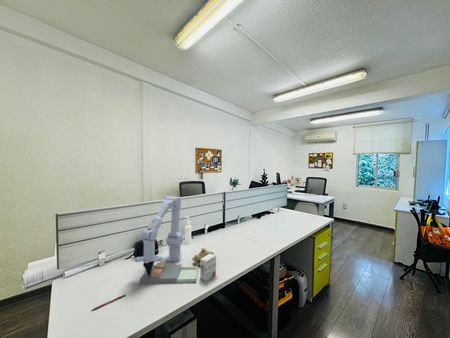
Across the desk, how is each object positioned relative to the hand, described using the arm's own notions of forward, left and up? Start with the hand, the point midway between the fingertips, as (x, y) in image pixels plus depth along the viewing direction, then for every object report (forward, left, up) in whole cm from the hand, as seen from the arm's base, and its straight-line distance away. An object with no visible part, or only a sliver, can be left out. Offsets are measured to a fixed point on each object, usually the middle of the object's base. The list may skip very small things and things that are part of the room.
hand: (149, 273), depth 100 cm
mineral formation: (-15, +31, -3) cm, 35 cm away
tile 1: (-6, +4, 0) cm, 8 cm away
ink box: (-1, +33, -3) cm, 34 cm away
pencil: (+17, -13, -4) cm, 21 cm away
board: (-3, +6, -3) cm, 8 cm away
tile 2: (0, +4, 0) cm, 4 cm away
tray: (-2, +21, -3) cm, 22 cm away
